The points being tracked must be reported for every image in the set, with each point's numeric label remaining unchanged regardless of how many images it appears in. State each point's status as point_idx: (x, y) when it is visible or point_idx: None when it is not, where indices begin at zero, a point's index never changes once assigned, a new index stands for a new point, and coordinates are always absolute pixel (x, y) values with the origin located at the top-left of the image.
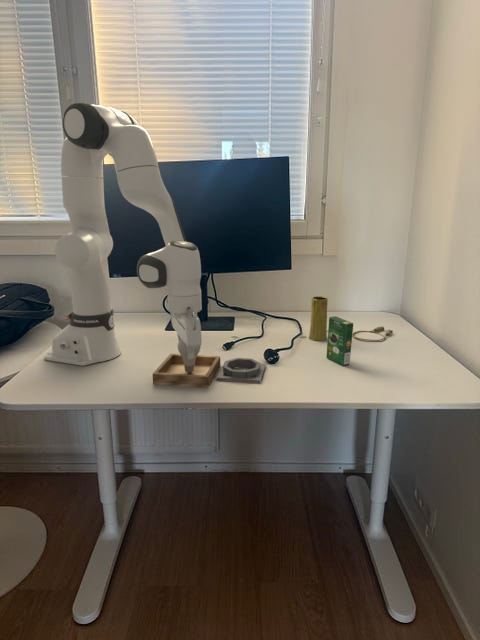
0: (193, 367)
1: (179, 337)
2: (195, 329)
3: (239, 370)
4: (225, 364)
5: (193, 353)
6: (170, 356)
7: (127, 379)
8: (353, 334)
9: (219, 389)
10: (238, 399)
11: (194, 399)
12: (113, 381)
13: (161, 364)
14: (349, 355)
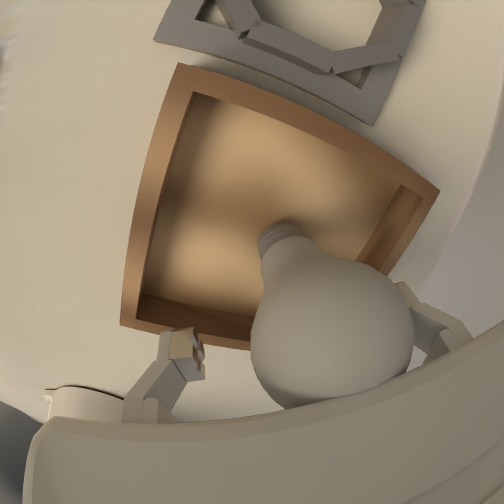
0: (301, 234)
1: (172, 398)
2: (470, 427)
3: (401, 21)
4: (305, 51)
5: (417, 302)
6: (153, 326)
7: (255, 375)
8: None
9: (432, 137)
10: (489, 111)
11: (447, 226)
12: (259, 390)
13: (245, 348)
14: None
